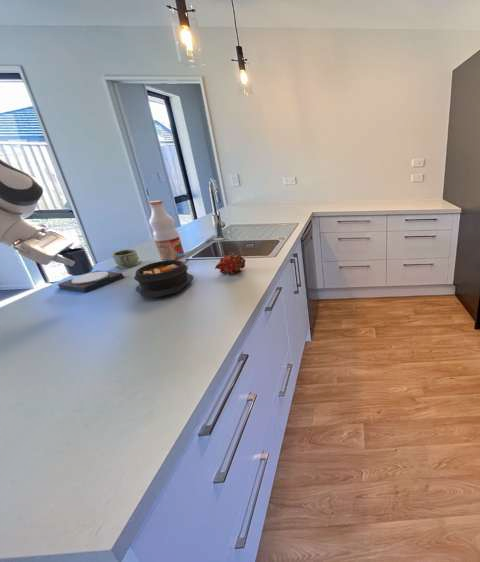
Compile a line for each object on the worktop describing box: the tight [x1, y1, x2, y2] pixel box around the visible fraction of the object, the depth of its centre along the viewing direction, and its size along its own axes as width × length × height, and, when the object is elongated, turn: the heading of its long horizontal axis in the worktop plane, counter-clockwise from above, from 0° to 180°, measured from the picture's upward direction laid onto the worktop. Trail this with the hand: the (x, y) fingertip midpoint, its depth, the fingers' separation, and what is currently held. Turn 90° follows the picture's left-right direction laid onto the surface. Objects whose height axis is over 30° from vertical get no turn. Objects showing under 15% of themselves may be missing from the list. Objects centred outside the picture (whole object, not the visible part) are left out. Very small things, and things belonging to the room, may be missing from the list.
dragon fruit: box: [214, 253, 246, 275], centre depth 125 cm, size 8×8×12 cm
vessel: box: [111, 248, 140, 269], centre depth 136 cm, size 12×9×6 cm
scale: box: [57, 269, 124, 293], centre depth 118 cm, size 14×14×3 cm
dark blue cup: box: [59, 247, 94, 277], centre depth 102 cm, size 6×6×8 cm
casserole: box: [133, 260, 194, 299], centre depth 112 cm, size 25×19×8 cm
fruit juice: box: [148, 200, 187, 264], centre depth 132 cm, size 9×9×28 cm
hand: (78, 260), depth 102 cm, fingers closed on dark blue cup, 6 cm apart
